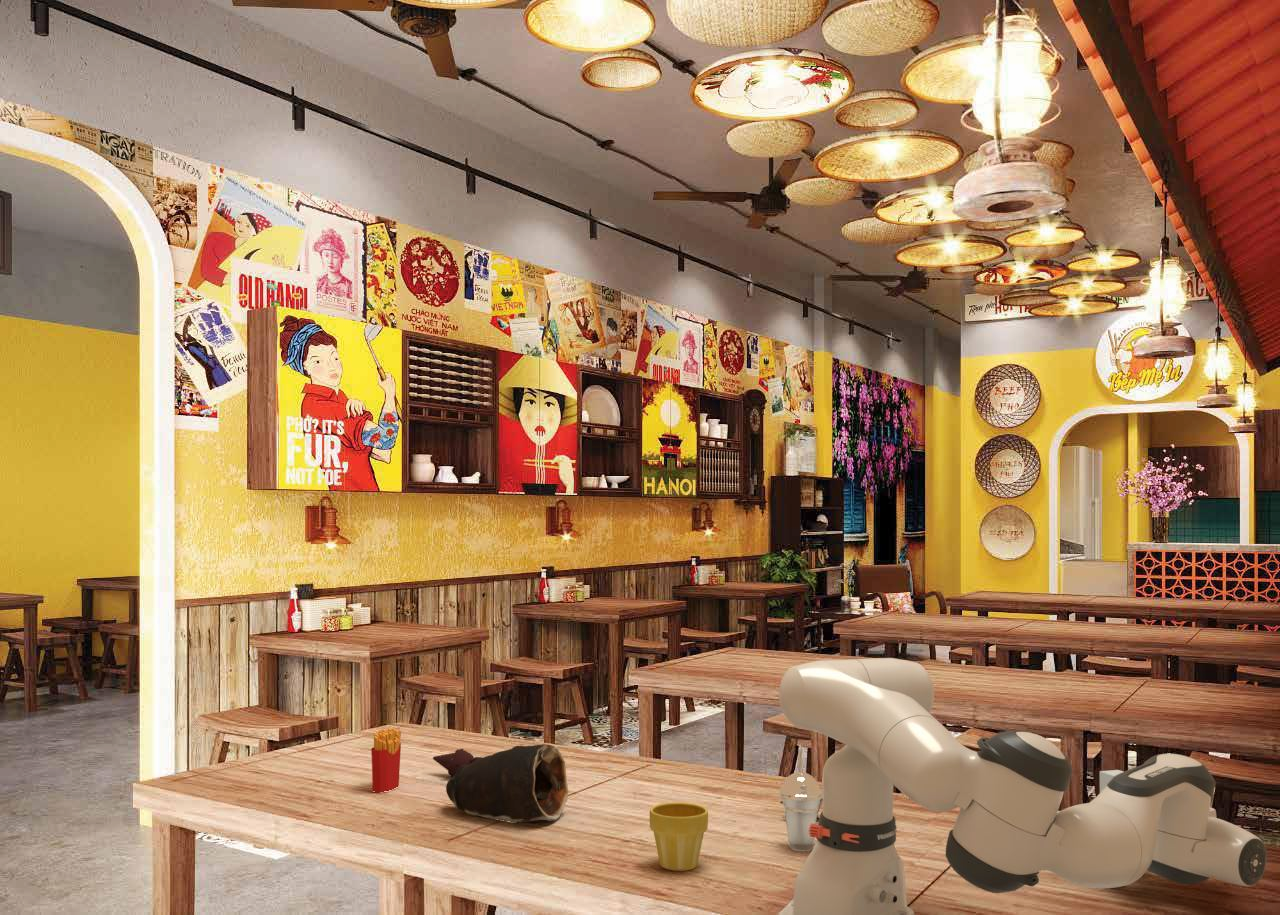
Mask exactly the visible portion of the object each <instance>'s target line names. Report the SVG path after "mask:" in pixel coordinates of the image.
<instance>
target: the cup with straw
mask: <svg viewBox="0 0 1280 915" xmlns="http://www.w3.org/2000/svg"><path fill="white" fill-rule="evenodd" d="M794 748H795V749H796V750H797V751H798V762H797V763H798V771H796V772H794V773H791V774H789V775H788V776H787V777H786V778H785V779H784V782H783V784H782V786H781V787H780V788H779V789H778V793H777V794H778V796H779V797H780V798H781V799H782V801H783V804H782V805H783V809H784V814H785V816H784V817H785V824H786V833H787V842H788V843H789V844H788V845H789V846H788V848H789V849H790V850H791V851H794V852H800V853H802V852H804V853H806V852H810V851H812V850H813V848H814V843H815V838H816V837H811V836H810V835H809V833H810V832H809V828H810V825H811V824H812V823H813V824H816V825H817V821H818V820H817V817H818V814H817V811H818V808H819V803H820V799H822V788H820V785H819V783H818V782H817V779H815V777H814V776H812V775H811V774H809V773H808V772H803V746H802V744H797V745H795V747H794ZM818 812H819V811H818ZM805 851H806V852H805Z"/></svg>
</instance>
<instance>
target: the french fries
mask: <svg viewBox="0 0 1280 915" xmlns="http://www.w3.org/2000/svg"><path fill="white" fill-rule="evenodd" d="M401 735H402V731H401V730H400V729H398V730H397V729H396V728H390V727H389V728H387V729H379V730H378V732H375V733H373V747H371V749H370V750H371V751H370V752H371V754H370V755H371V780H372V781H371V783H372V784H371V785H372V792H373V791H375V792H384V791H389V790H392V789H394V788H396V787H398V786H399V785H400V769H401V768H400V767H401V749H402V748H401V747H402V742H401V737H402V736H401ZM399 787H400V786H399ZM394 790H395V789H394ZM392 791H393V790H392ZM375 792H374V793H375Z"/></svg>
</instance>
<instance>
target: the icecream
mask: <svg viewBox="0 0 1280 915" xmlns="http://www.w3.org/2000/svg"><path fill="white" fill-rule="evenodd" d="M481 758H483V756H475V757H474V755H473V754H472V753H471V752H469V751H467V750H464V748H461V749H456V750H455V751H454V752H449V753H446V754H440V755H435V756H433V757H432V759H433V761H435V762H436V763H438V764H439V765H440V766H441V767H442V768H444V769H445V770H446V771H447V773H448V775H449V776H450V779H451V778H452V777H453V776H454V775H455V774H456V772H457V770H458V769H459V768H460V767H461V766H463V765H469V764H471V763H473V762H474V761H476V760H479V759H481Z"/></svg>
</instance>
